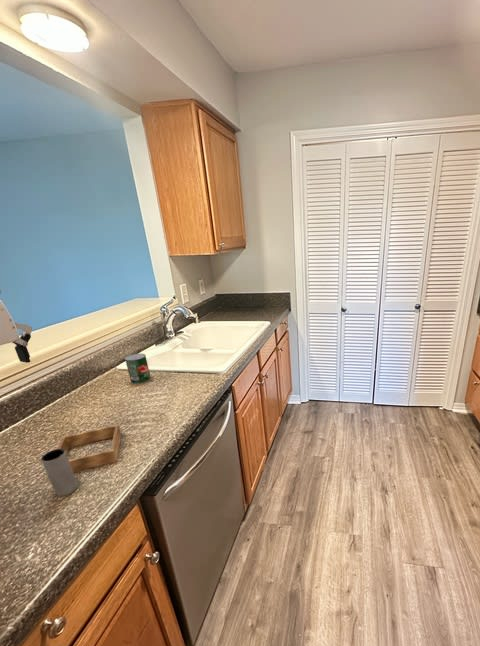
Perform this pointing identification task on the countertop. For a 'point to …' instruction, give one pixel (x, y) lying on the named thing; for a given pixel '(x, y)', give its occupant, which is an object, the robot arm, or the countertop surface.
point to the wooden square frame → (91, 437)
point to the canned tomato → (138, 368)
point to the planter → (59, 472)
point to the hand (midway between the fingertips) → (3, 369)
